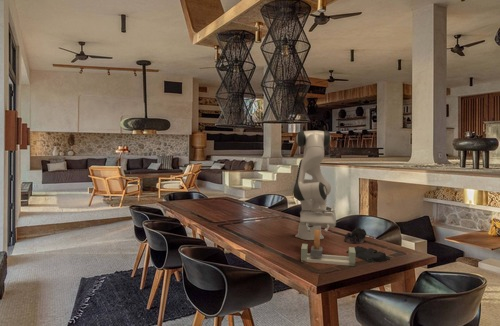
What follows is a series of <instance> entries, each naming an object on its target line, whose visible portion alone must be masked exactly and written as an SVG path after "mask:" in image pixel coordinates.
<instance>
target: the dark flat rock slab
mask: <svg viewBox="0 0 500 326" xmlns="http://www.w3.org/2000/svg"><path fill="white" fill-rule="evenodd" d="M353 247H354V246H353ZM354 248H355V252H356V258H357V259H360V260H363V261H364V260H365V262H367V263H372V262H373V263H381V262H382V263H383V262H386V261H388V260H390V259H391V258H390V257H389V256H387V254H386V253H385V252H383V251H380V250H379V251H378V250H377V249H374V248H373V247H368V248H367V247H363V246H361V245H360V246H359V245H357V246H355V247H354ZM345 253H346V254H348V253H349V249H348V250H347V251H345Z"/></svg>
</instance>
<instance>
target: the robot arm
mask: <svg viewBox="0 0 500 326" xmlns="http://www.w3.org/2000/svg"><path fill="white" fill-rule="evenodd" d="M295 141H296V145H297V146H298V147H299V148H303V156H302V159H300V161H299V164H298V168H297V172H296V173H297V174H296V179H295V180H293V182H292V183H291V186H290V187H291V191H292V193H293V197H294V198H295V199H296V200H297V201H298V202H300V204H301V205H300V206H301V211H300V212H299V215H300V218H299V224H298V230H297V231H298V232H297V233H296V234H295V236H294V237H295V238H299V239H301V240H304V241H305V240H306V241H314V230H320V240H324V239H325V237H324V235H323V234H322V227H326V228H324V233H326V234H328V231H329V230H330V227H331V228H335V227H336V226H337V216H336V214H335V210H334V208H333V207H330V206H327V197H328V195H329V194H330V193H331V190H332V186H331V183H330V182H329V181H328V180H327V179H326V178H325V177H324V176H323V174H322V171H321V163H322V162H323V160H324V158H325V148H328V147H329V146H330V144H331V142H332V137H331V133H330V132H329V131H326V130H300V131H298V132H297V134H296V136H295ZM306 174H307V175H309V176H311V177H312V178H311V179H310V178H309V179H308V178H307V179H305V177H306Z"/></svg>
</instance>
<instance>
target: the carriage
mask: <svg viewBox="0 0 500 326" xmlns="http://www.w3.org/2000/svg"><path fill="white" fill-rule="evenodd" d="M320 243H321V239H320V230H314V240H313V245H312V246H311V248H310V253H311V256H321V257H322V254H323V246H321V245H320Z"/></svg>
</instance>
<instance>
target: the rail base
mask: <svg viewBox="0 0 500 326" xmlns="http://www.w3.org/2000/svg"><path fill="white" fill-rule="evenodd" d="M301 244H302V245H301V248H300V262H302V263H315V264H324V265H325V264H328V265H339V266H349V267H355V266H356V258H357V257H356V252H355V248H354V246H353V247H351V246H349V247H348V250H349V253H347V254H348V256H346V255H334V254H323V253H322V257H321V256H311V252H310V253H308V250H309V248H308V247H309V245H308V243H301Z"/></svg>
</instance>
